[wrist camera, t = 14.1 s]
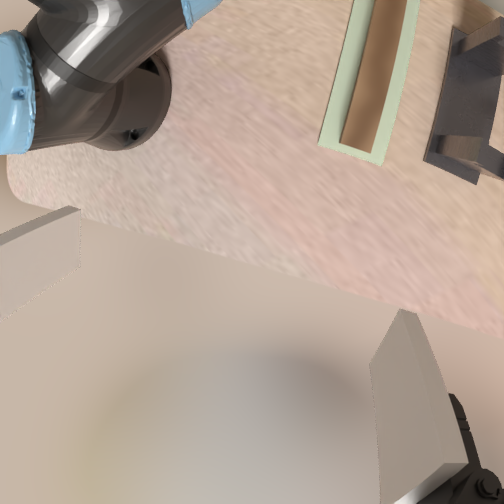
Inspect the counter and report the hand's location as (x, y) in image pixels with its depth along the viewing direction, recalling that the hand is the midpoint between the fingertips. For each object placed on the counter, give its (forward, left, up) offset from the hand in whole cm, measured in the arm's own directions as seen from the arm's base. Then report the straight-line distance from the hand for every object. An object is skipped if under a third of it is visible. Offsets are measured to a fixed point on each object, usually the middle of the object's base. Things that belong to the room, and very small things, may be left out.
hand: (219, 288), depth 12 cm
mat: (+6, +17, -29) cm, 34 cm away
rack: (+19, +17, -29) cm, 38 cm away
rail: (+6, +17, -28) cm, 33 cm away
